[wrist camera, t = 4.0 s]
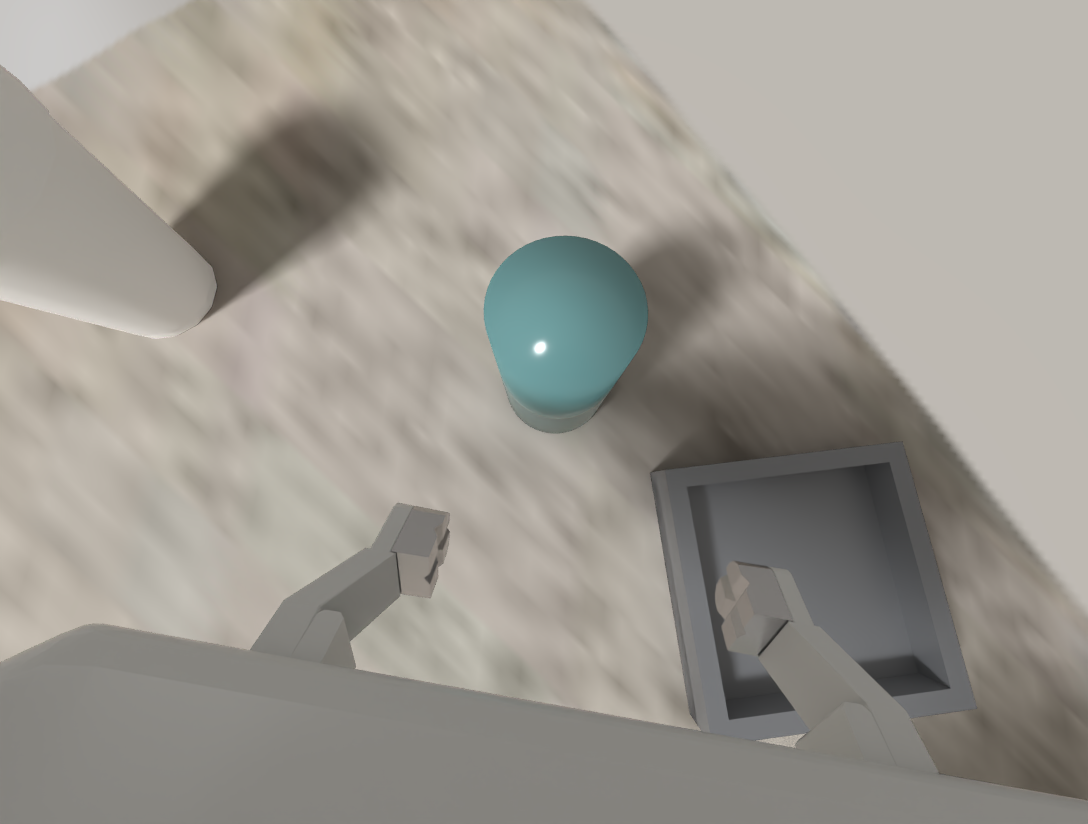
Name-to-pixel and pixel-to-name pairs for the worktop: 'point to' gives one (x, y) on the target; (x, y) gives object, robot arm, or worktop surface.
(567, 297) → the teal cylinder
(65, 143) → the foam cup
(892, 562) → the tray
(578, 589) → the worktop surface
